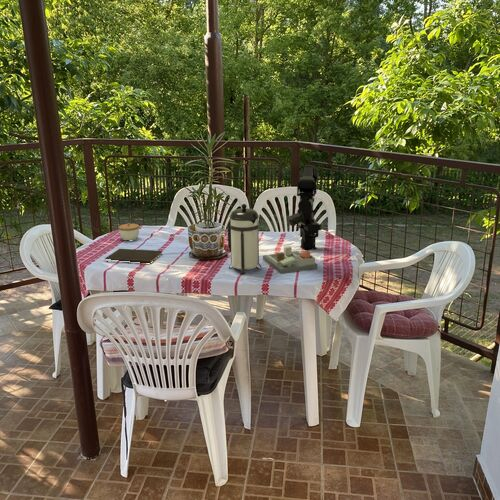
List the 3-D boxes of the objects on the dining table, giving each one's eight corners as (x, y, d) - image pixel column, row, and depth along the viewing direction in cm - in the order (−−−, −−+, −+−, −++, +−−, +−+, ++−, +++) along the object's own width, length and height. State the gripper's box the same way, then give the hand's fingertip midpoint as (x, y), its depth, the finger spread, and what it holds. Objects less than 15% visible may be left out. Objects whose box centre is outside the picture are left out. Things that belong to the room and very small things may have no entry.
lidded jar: (137, 242, 276) (136, 225, 274) (117, 242, 277) (116, 225, 274) (141, 237, 287) (140, 220, 284) (122, 237, 287) (121, 220, 284)
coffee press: (265, 263, 240) (264, 200, 231) (257, 275, 225) (257, 208, 216) (229, 261, 244) (227, 199, 235) (219, 273, 229) (217, 206, 220)
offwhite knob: (289, 253, 247) (289, 245, 246) (291, 255, 245) (291, 247, 244) (283, 254, 246) (283, 246, 245) (285, 256, 244) (285, 247, 243)
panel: (297, 255, 252) (297, 245, 250) (317, 268, 233) (317, 257, 232) (262, 259, 246) (262, 249, 245) (280, 273, 227) (280, 262, 226)
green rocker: (292, 258, 233) (291, 256, 232) (295, 260, 230) (295, 258, 229) (280, 263, 231) (279, 261, 231) (283, 265, 228) (282, 263, 228)
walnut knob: (282, 260, 238) (282, 252, 237) (284, 262, 236) (284, 253, 235) (276, 261, 237) (276, 252, 236) (278, 262, 235) (278, 254, 234)
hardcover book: (119, 252, 261) (119, 248, 261) (162, 255, 257) (162, 250, 256) (105, 263, 246) (104, 258, 246) (150, 265, 242) (150, 261, 241)
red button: (307, 257, 236) (307, 250, 235) (311, 260, 233) (311, 252, 232) (299, 258, 235) (299, 251, 234) (303, 261, 231) (303, 253, 230)
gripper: (280, 204, 233) (280, 238, 237) (298, 213, 216) (297, 249, 220) (303, 202, 236) (302, 235, 241) (322, 211, 219) (321, 246, 224)
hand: (305, 241), depth 231 cm, fingers closed
